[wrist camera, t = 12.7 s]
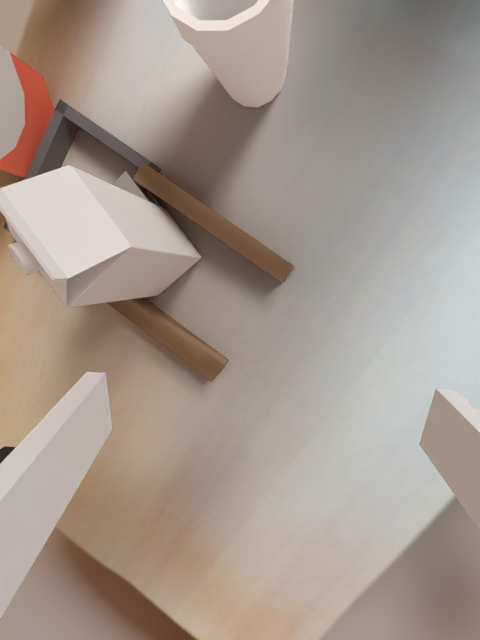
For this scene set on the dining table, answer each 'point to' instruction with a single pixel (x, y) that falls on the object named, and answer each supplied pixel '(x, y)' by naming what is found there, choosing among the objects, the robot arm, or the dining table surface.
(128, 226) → the milk carton
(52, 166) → the grey u-shaped frame
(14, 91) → the french fries container
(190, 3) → the foam cup
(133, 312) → the channel
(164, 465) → the dining table surface
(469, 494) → the robot arm
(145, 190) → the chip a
